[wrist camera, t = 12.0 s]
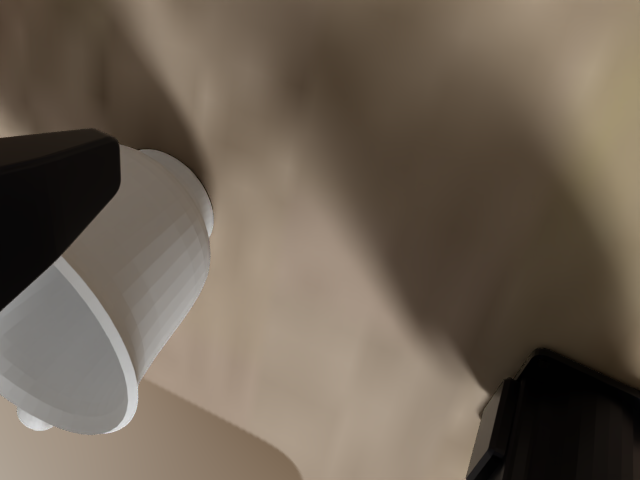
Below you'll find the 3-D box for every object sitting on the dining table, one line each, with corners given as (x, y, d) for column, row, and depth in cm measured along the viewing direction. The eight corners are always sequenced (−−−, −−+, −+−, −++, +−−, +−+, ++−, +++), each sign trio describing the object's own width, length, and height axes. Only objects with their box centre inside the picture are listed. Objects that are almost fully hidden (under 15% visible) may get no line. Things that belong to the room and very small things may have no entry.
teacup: (78, 268, 35) (-70, 380, 28) (67, 42, 26) (-164, 120, 18) (241, 360, 33) (128, 509, 26) (295, 152, 24) (139, 292, 16)
